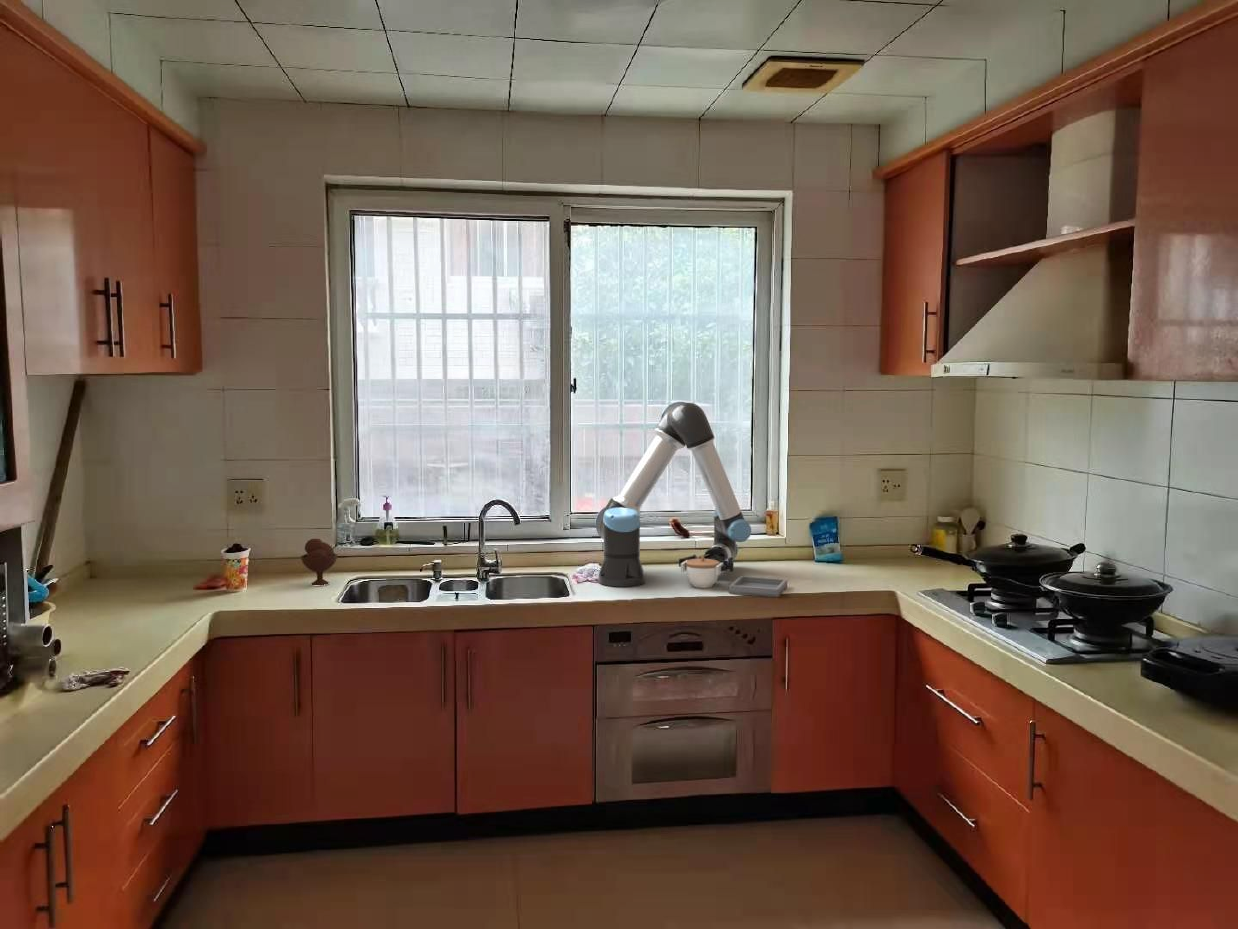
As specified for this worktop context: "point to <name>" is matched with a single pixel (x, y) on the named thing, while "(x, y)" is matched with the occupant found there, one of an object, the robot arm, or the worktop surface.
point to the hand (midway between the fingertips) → (699, 569)
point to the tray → (758, 586)
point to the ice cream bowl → (318, 558)
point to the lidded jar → (702, 572)
